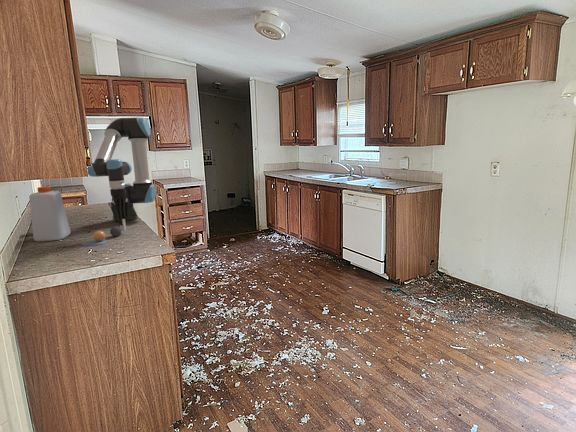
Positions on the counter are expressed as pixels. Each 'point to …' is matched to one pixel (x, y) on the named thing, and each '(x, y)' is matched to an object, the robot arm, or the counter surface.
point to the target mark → (94, 243)
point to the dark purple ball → (115, 231)
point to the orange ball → (99, 236)
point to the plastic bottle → (48, 215)
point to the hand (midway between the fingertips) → (123, 230)
